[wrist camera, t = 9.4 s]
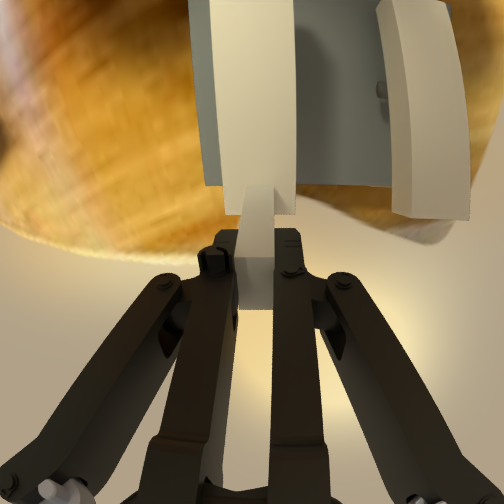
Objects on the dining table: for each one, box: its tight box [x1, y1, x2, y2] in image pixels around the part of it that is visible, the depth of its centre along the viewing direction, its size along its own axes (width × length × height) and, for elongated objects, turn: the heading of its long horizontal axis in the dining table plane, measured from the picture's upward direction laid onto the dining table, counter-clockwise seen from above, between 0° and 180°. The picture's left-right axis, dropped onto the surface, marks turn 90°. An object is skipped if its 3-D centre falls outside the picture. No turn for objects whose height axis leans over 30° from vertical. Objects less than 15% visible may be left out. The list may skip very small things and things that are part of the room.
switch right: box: [376, 0, 471, 220], centre depth 15 cm, size 4×14×3 cm, turn 3°
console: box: [188, 0, 451, 188], centre depth 19 cm, size 19×16×7 cm
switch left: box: [209, 0, 296, 215], centre depth 15 cm, size 4×14×3 cm, turn 3°
